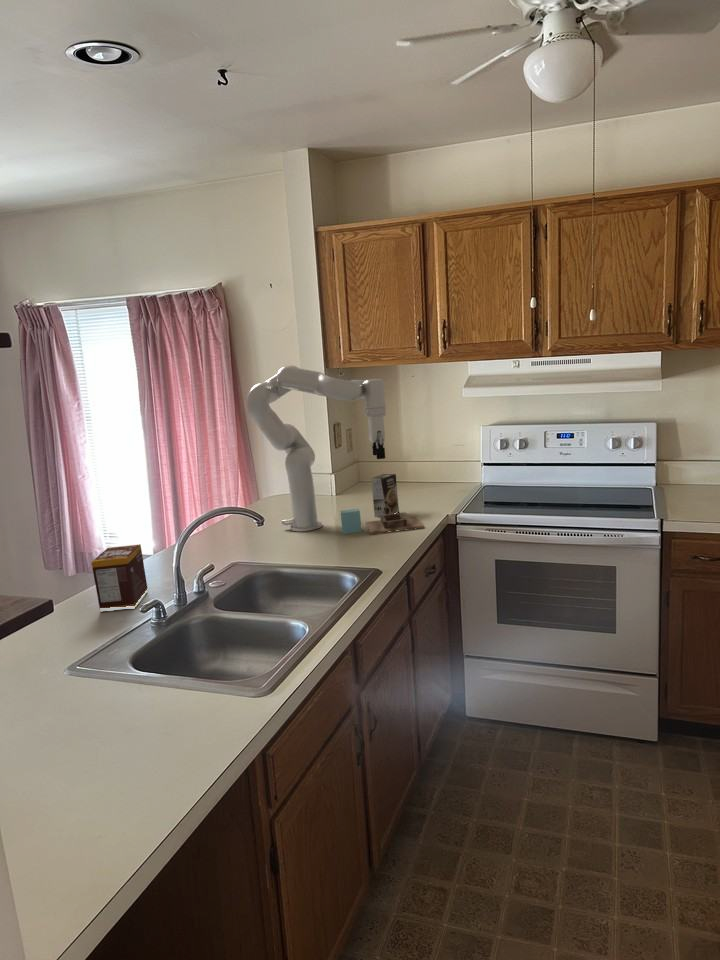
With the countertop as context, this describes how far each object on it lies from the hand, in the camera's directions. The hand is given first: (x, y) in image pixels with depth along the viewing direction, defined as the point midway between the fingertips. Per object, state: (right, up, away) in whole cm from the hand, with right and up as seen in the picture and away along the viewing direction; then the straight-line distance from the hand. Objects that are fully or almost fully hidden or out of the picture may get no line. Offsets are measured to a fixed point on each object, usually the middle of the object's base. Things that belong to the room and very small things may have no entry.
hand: (379, 456), depth 275 cm
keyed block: (-10, -28, -3) cm, 30 cm away
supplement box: (-78, -46, -58) cm, 107 cm away
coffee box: (+4, -23, +18) cm, 29 cm away
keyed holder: (+6, -26, -2) cm, 27 cm away
